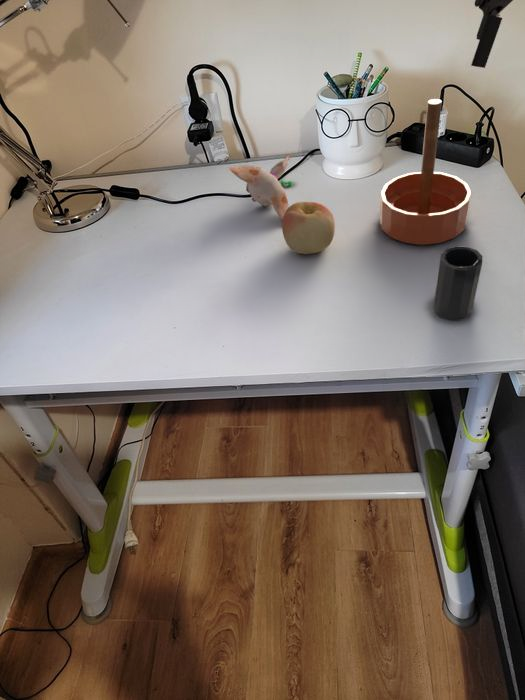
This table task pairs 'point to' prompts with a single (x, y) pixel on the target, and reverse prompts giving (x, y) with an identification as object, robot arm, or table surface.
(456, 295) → the utensil pot
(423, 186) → the stick
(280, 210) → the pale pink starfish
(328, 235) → the apple
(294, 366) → the table surface
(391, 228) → the bowl
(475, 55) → the robot arm
